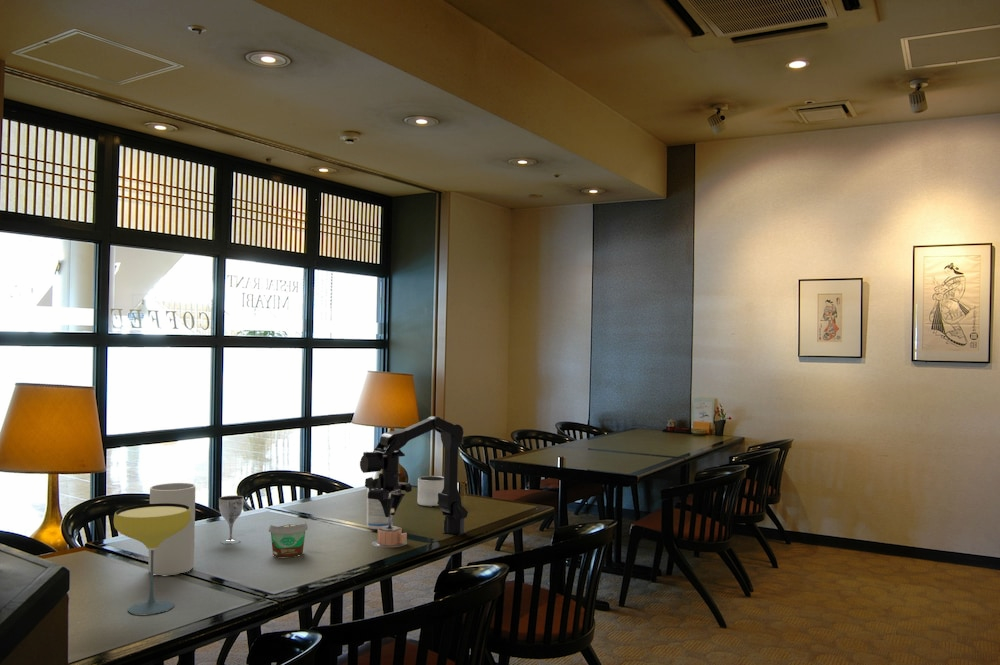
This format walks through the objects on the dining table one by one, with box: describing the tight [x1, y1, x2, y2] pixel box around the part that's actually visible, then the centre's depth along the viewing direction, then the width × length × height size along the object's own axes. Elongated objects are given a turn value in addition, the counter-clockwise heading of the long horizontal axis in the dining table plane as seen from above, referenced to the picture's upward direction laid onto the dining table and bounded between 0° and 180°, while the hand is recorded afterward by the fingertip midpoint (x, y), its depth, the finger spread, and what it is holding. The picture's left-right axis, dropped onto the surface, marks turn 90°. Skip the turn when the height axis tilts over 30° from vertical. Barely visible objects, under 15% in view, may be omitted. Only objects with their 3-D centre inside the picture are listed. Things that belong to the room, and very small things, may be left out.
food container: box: [268, 521, 308, 558], centre depth 251 cm, size 12×6×10 cm, turn 117°
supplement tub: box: [366, 488, 394, 530], centre depth 291 cm, size 10×10×15 cm
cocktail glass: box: [113, 503, 191, 615], centre depth 200 cm, size 18×18×25 cm
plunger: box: [388, 507, 394, 532], centre depth 266 cm, size 5×5×8 cm
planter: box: [416, 475, 444, 507], centre depth 335 cm, size 12×12×11 cm
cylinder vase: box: [148, 482, 196, 575], centre depth 233 cm, size 12×12×25 cm
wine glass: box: [218, 495, 244, 541], centre depth 268 cm, size 8×8×15 cm
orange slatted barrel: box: [377, 525, 408, 546], centre depth 266 cm, size 10×8×5 cm
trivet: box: [371, 540, 408, 549], centre depth 266 cm, size 12×12×1 cm
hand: (389, 516), depth 266 cm, fingers closed on plunger, 3 cm apart
